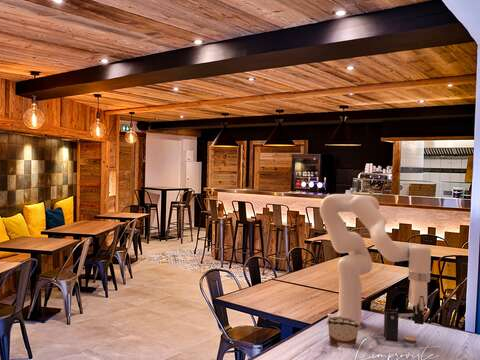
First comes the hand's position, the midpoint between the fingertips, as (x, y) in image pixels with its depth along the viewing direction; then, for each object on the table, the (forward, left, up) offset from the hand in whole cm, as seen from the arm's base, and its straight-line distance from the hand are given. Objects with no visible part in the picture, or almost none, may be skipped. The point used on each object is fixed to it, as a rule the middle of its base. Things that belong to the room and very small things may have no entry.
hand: (417, 321), depth 186 cm
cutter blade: (-4, 0, +1) cm, 4 cm away
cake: (-3, 0, -10) cm, 10 cm away
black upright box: (-10, 0, -10) cm, 14 cm away
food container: (-29, -9, -10) cm, 32 cm away
